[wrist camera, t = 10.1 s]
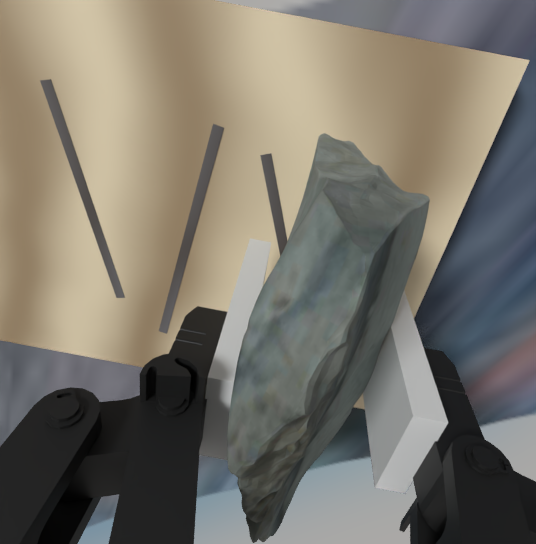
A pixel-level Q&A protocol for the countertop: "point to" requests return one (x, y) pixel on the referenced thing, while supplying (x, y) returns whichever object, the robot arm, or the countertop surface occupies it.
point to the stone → (318, 325)
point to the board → (204, 153)
